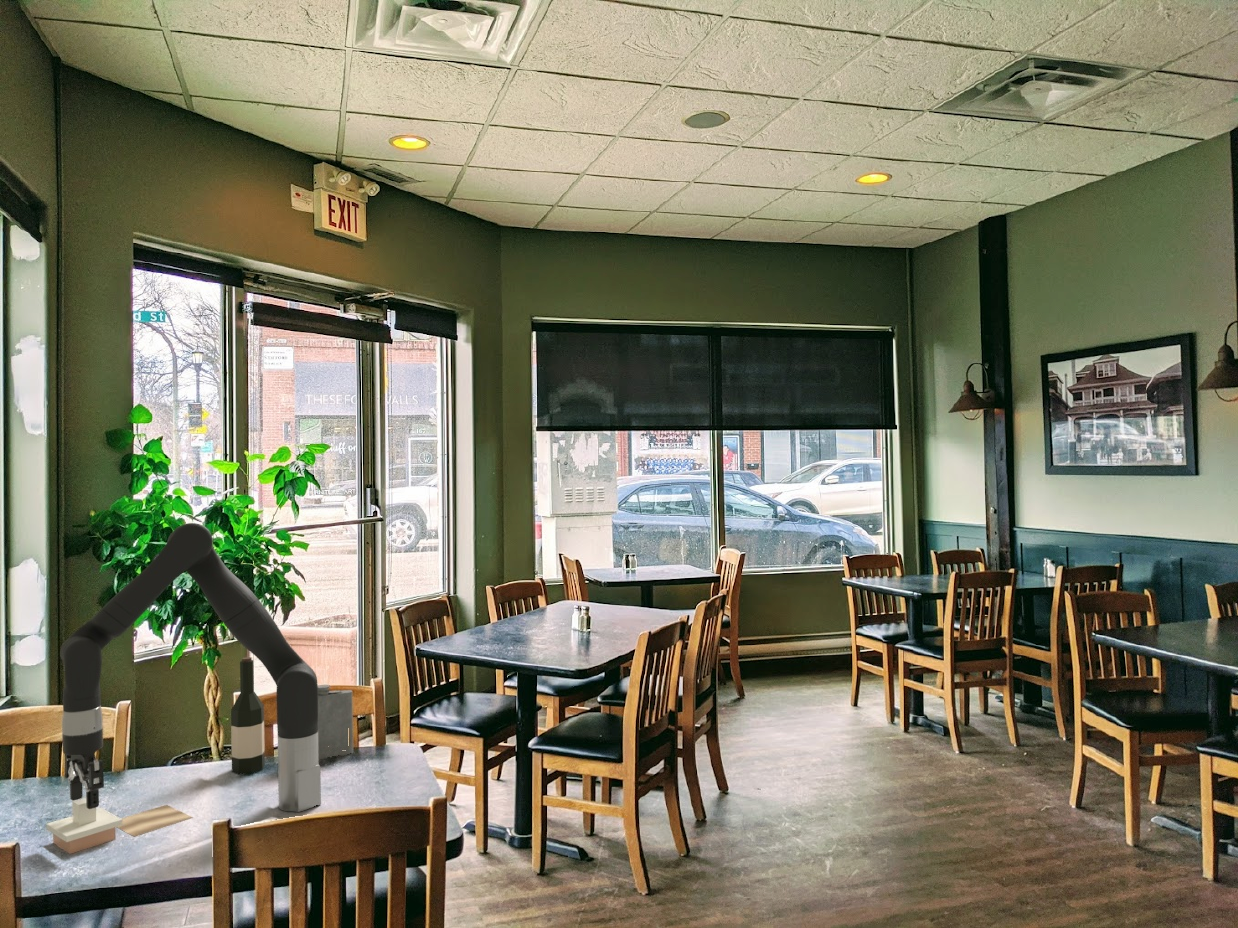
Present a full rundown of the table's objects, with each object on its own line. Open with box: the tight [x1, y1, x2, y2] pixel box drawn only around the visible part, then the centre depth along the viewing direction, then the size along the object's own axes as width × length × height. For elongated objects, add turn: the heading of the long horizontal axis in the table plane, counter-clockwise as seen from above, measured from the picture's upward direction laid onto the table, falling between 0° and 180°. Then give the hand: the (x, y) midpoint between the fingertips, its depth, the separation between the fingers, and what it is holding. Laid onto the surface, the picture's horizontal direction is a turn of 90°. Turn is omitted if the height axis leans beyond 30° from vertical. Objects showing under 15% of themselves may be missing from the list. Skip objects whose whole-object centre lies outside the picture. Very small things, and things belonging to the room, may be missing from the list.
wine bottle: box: [230, 656, 266, 775], centre depth 241 cm, size 8×8×30 cm
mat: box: [116, 804, 194, 838], centre depth 204 cm, size 13×13×1 cm
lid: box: [45, 797, 123, 842], centre depth 193 cm, size 11×11×6 cm
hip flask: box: [318, 684, 354, 761], centre depth 250 cm, size 16×4×20 cm, turn 124°
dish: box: [52, 827, 117, 855], centre depth 193 cm, size 9×9×4 cm
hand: (84, 803), depth 193 cm, fingers open, 8 cm apart
